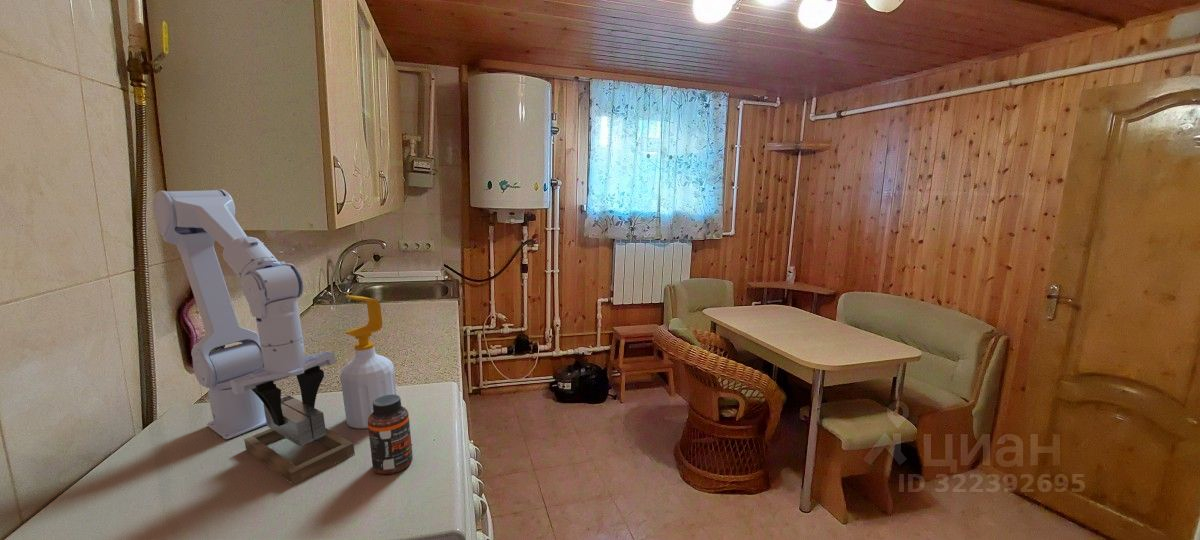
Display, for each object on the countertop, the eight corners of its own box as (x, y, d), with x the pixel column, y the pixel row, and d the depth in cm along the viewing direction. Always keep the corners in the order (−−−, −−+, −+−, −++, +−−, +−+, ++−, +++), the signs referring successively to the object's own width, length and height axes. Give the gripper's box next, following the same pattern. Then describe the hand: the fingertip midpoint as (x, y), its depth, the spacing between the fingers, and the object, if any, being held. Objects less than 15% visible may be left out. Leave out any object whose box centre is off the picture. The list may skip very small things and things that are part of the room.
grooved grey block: (267, 426, 79) (263, 404, 79) (292, 416, 83) (289, 395, 82) (300, 446, 73) (296, 423, 72) (326, 434, 76) (323, 412, 75)
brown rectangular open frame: (246, 449, 79) (244, 439, 79) (304, 425, 87) (303, 415, 87) (293, 484, 70) (291, 473, 69) (354, 454, 77) (353, 443, 77)
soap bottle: (337, 421, 88) (320, 296, 84) (382, 402, 96) (369, 286, 91) (362, 435, 83) (345, 303, 79) (408, 413, 91) (395, 292, 86)
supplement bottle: (398, 478, 71) (390, 410, 69) (364, 474, 72) (355, 407, 70) (420, 455, 77) (414, 392, 74) (389, 452, 78) (381, 389, 76)
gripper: (238, 360, 66) (253, 445, 69) (340, 331, 78) (350, 405, 81) (219, 350, 70) (235, 432, 73) (319, 325, 82) (329, 396, 85)
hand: (294, 417), depth 77 cm, fingers closed on grooved grey block, 4 cm apart
